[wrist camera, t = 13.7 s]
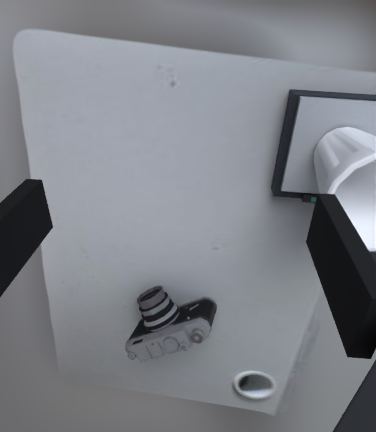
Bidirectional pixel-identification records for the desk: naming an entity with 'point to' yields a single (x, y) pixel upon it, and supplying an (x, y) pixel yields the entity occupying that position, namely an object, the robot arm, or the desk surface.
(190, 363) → the desk surface
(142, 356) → the camera
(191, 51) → the desk surface
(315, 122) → the scale
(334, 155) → the cup
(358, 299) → the robot arm
